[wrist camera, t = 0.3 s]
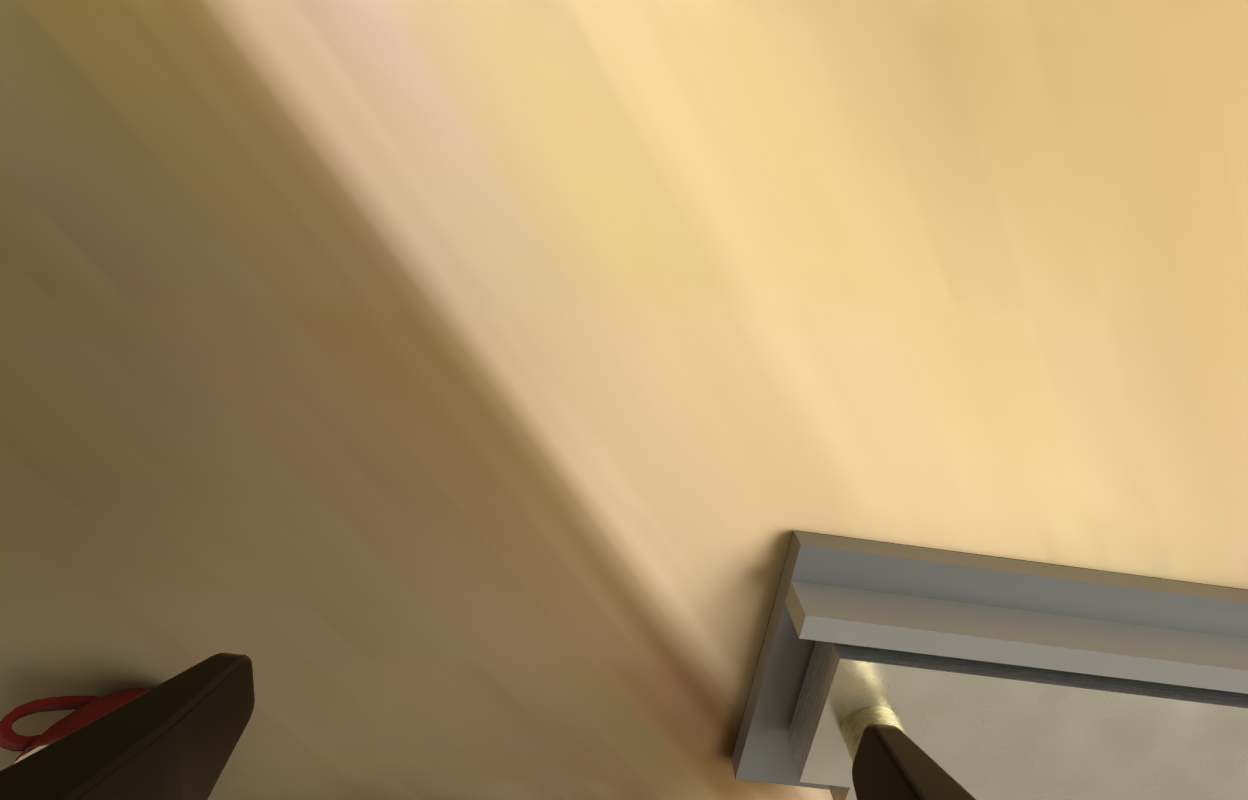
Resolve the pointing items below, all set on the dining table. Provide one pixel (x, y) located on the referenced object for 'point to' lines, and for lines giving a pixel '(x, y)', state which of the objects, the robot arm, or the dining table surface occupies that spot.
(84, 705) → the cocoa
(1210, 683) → the guide plate
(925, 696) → the toothed rack
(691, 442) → the dining table surface
